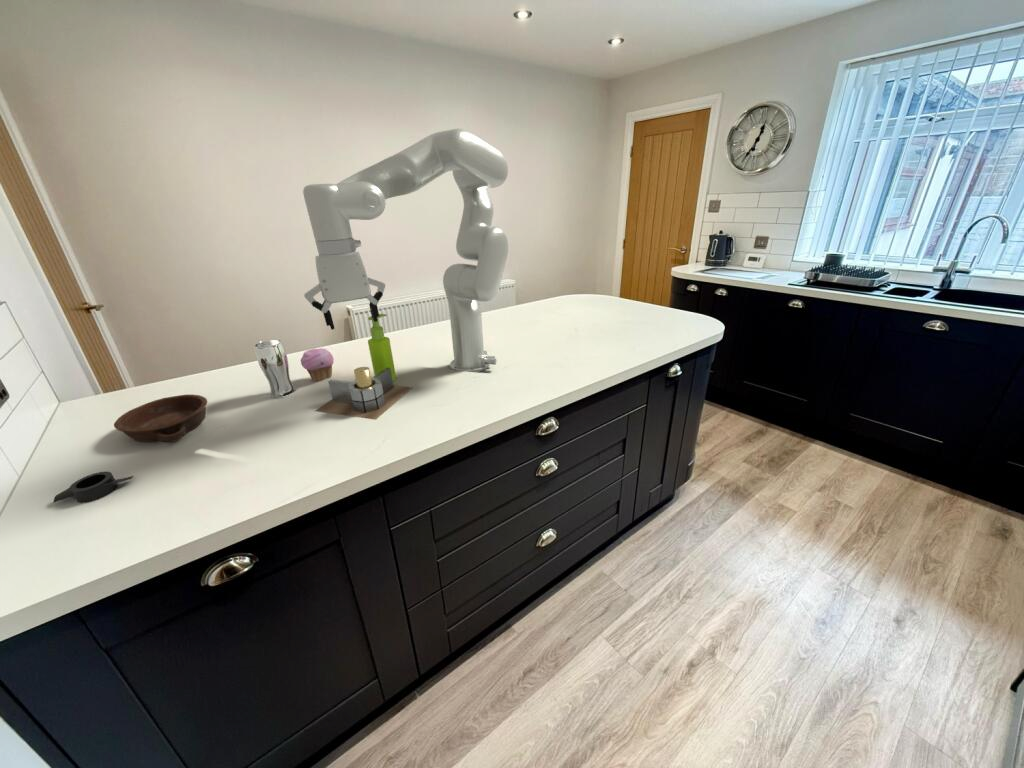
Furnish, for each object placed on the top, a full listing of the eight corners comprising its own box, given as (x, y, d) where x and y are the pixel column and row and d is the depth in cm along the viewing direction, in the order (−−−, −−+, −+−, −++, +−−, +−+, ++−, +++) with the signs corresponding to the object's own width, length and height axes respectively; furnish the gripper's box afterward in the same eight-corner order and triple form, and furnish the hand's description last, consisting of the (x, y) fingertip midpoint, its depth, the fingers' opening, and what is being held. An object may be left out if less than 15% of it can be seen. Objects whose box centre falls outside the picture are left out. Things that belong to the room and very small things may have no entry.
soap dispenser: (402, 377, 118) (392, 313, 109) (387, 387, 112) (374, 320, 104) (387, 375, 120) (376, 311, 112) (371, 384, 115) (358, 318, 106)
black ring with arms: (94, 479, 78) (86, 468, 77) (141, 480, 78) (135, 468, 76) (51, 507, 71) (42, 495, 70) (103, 508, 71) (95, 495, 69)
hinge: (404, 388, 109) (400, 368, 106) (373, 413, 97) (368, 392, 94) (359, 383, 113) (355, 364, 110) (324, 407, 100) (318, 386, 98)
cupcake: (302, 380, 118) (293, 350, 114) (330, 371, 124) (322, 342, 120) (314, 389, 113) (305, 357, 108) (343, 379, 118) (335, 348, 114)
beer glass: (276, 388, 114) (260, 339, 107) (301, 386, 114) (286, 338, 108) (265, 399, 108) (247, 348, 101) (291, 397, 108) (275, 347, 102)
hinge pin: (379, 402, 102) (372, 367, 98) (370, 409, 99) (363, 373, 94) (367, 401, 103) (359, 366, 98) (358, 407, 100) (350, 371, 95)
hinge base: (413, 390, 110) (413, 387, 110) (376, 423, 94) (375, 419, 94) (359, 384, 115) (358, 381, 114) (315, 414, 99) (314, 410, 99)
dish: (124, 463, 83) (113, 443, 81) (122, 425, 98) (113, 407, 95) (221, 431, 94) (214, 413, 91) (206, 401, 108) (199, 385, 106)
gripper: (373, 242, 91) (387, 314, 98) (291, 250, 84) (313, 327, 91) (380, 245, 85) (394, 321, 92) (292, 254, 78) (315, 335, 85)
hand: (354, 324), depth 92 cm, fingers open, 9 cm apart
